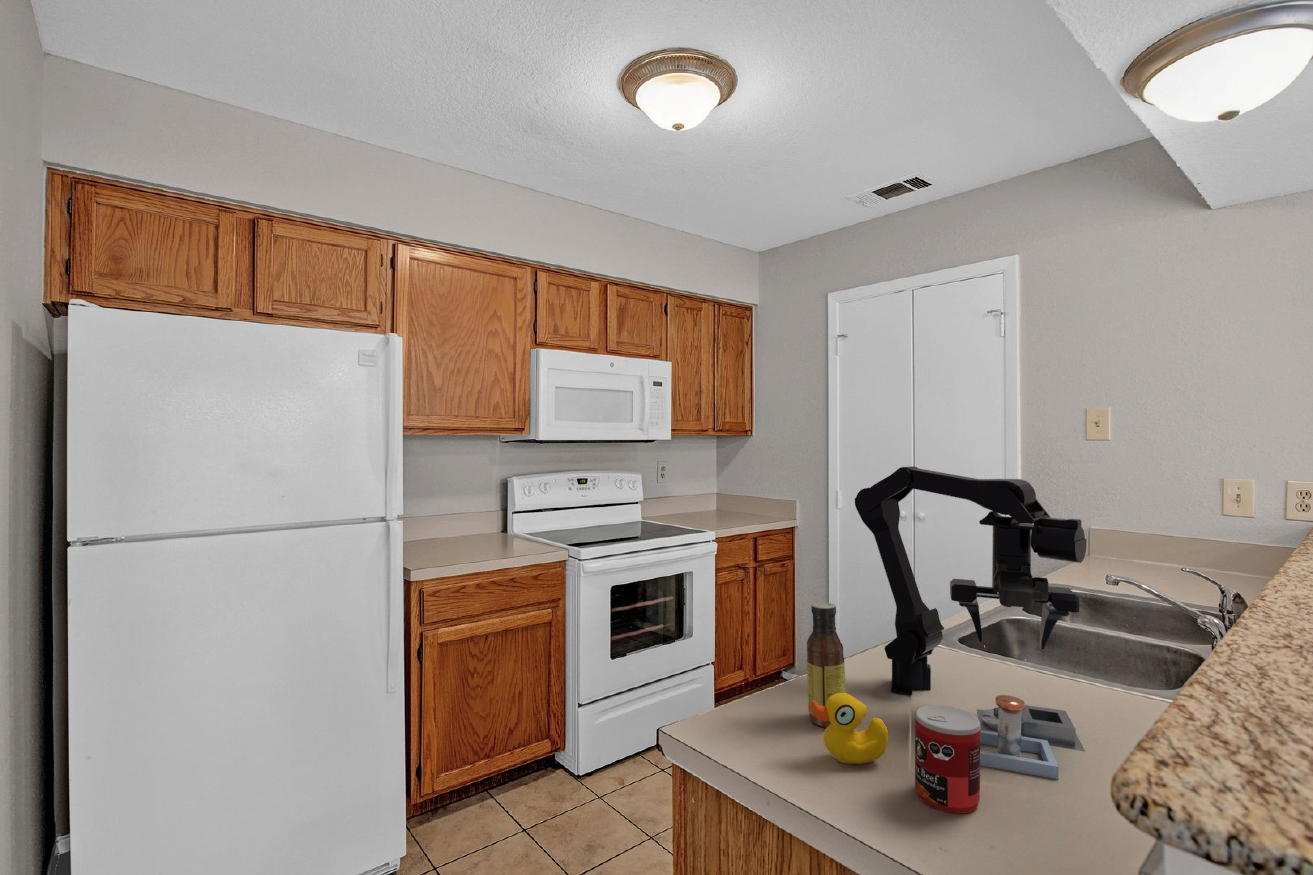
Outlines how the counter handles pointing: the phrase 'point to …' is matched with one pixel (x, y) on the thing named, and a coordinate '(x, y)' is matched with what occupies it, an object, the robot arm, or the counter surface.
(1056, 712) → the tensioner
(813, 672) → the sauce bottle
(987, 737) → the tray
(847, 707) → the duckling
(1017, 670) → the counter surface
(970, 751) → the canned food
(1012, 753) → the lock pin
